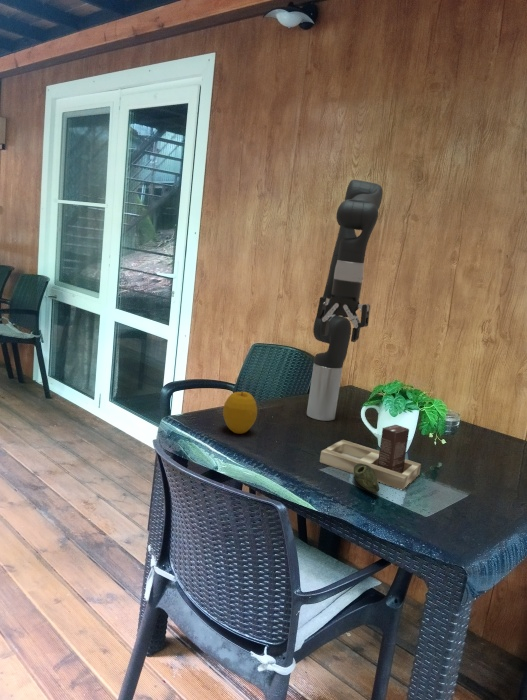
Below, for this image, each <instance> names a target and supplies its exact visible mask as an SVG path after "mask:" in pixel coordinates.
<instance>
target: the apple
mask: <svg viewBox="0 0 527 700" xmlns="http://www.w3.org/2000/svg"><path fill="white" fill-rule="evenodd" d="M222 415H223V419H224V422H225V425H226V426H227V428H228V429H229V430H230V431H231V432H232V433H234V434H241V435H242V434H245V433H247V432H248V431H249V430H250V429H251V428H252V426H253V425H254V424H255V422H256V420H257V417H258V405H257V401H256V399H255V398H254V396H253V395H252V394H251V393H250V392H247V391H235V392H233V393H231V394H230V395H229V396H228V397H227V399H226V400H225V402H224V405H223V409H222Z"/></svg>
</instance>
